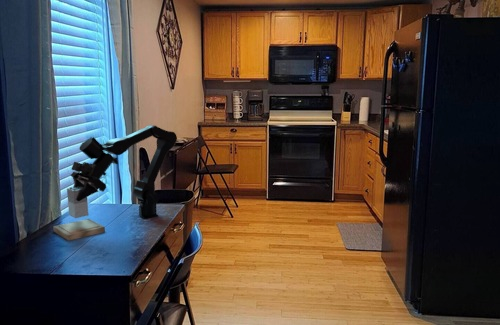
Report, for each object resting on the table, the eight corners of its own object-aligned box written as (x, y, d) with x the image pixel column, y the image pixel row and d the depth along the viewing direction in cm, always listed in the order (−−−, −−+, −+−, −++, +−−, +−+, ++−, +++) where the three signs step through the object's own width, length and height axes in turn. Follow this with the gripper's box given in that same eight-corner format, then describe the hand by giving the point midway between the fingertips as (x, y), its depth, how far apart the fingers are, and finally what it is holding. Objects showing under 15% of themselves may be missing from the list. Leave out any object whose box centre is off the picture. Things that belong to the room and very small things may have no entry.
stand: (89, 223, 169) (88, 217, 168) (105, 231, 159) (104, 225, 159) (53, 231, 159) (53, 225, 159) (68, 240, 149) (67, 234, 149)
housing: (81, 212, 161) (79, 185, 159) (88, 215, 157) (86, 187, 155) (69, 215, 157) (66, 187, 155) (75, 218, 153) (73, 190, 152)
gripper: (73, 151, 162) (47, 183, 156) (96, 156, 149) (68, 191, 144) (94, 167, 169) (69, 199, 163) (117, 174, 157) (91, 208, 151)
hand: (73, 199), depth 155 cm, fingers closed on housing, 5 cm apart
